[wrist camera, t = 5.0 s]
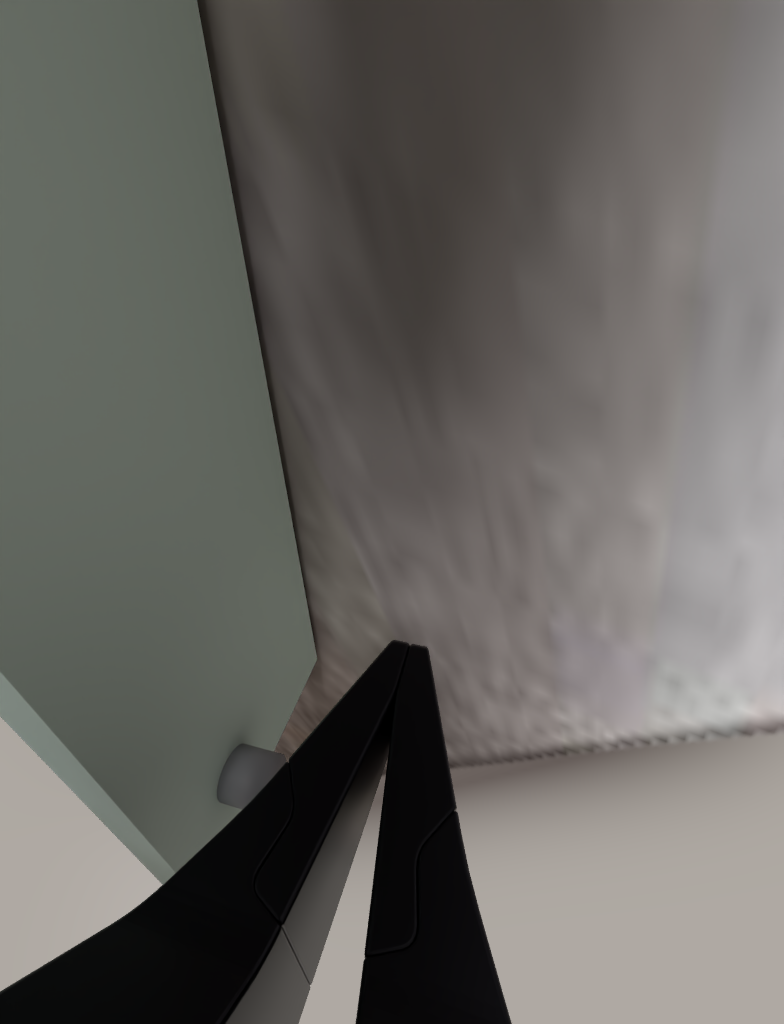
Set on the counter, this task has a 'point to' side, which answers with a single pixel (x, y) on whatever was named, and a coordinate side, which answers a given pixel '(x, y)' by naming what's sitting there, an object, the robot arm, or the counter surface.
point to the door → (136, 435)
